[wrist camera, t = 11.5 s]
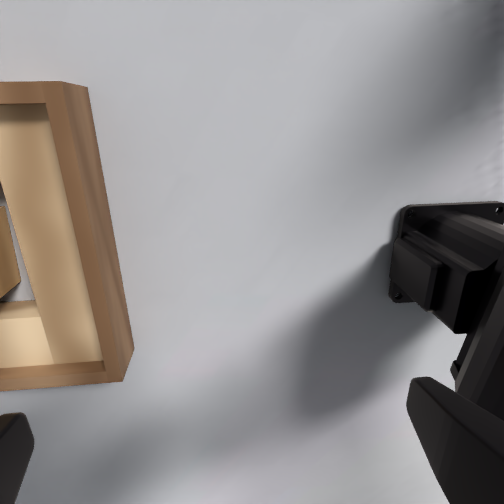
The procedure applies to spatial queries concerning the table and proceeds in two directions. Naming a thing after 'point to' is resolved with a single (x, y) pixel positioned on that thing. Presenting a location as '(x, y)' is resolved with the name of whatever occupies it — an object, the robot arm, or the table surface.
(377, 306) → the table surface
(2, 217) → the peg
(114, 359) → the socket box
